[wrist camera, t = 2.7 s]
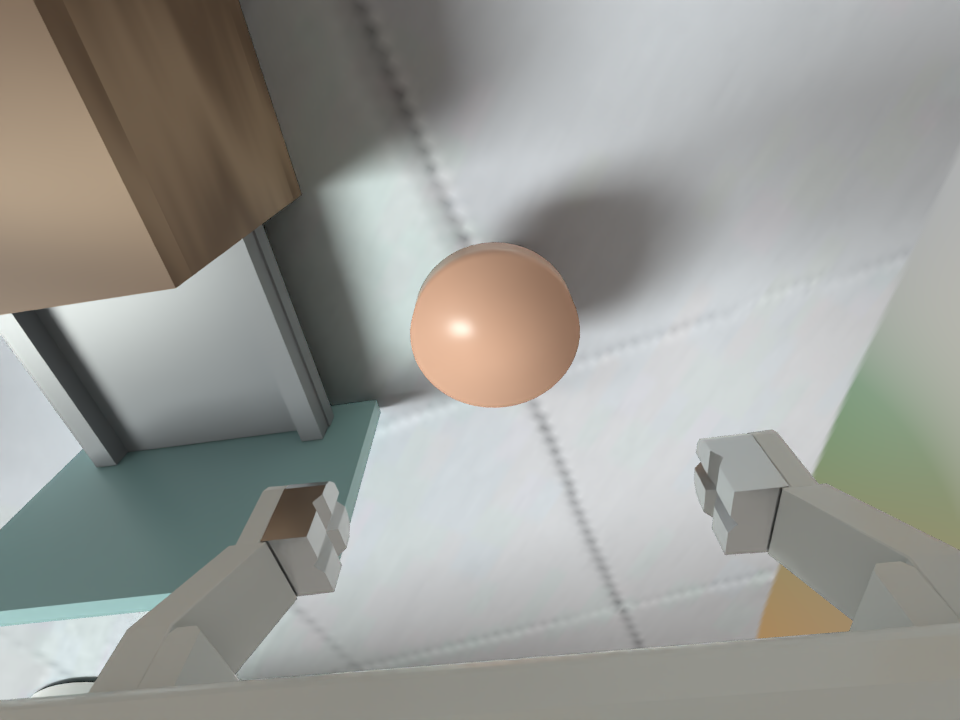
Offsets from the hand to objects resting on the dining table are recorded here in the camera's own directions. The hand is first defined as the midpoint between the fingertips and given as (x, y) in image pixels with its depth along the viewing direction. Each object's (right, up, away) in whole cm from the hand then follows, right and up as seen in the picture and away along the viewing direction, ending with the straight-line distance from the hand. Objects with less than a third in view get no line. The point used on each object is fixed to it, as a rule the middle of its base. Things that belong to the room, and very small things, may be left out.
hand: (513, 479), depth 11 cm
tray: (-14, +5, +11) cm, 19 cm away
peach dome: (0, +4, +8) cm, 9 cm away
